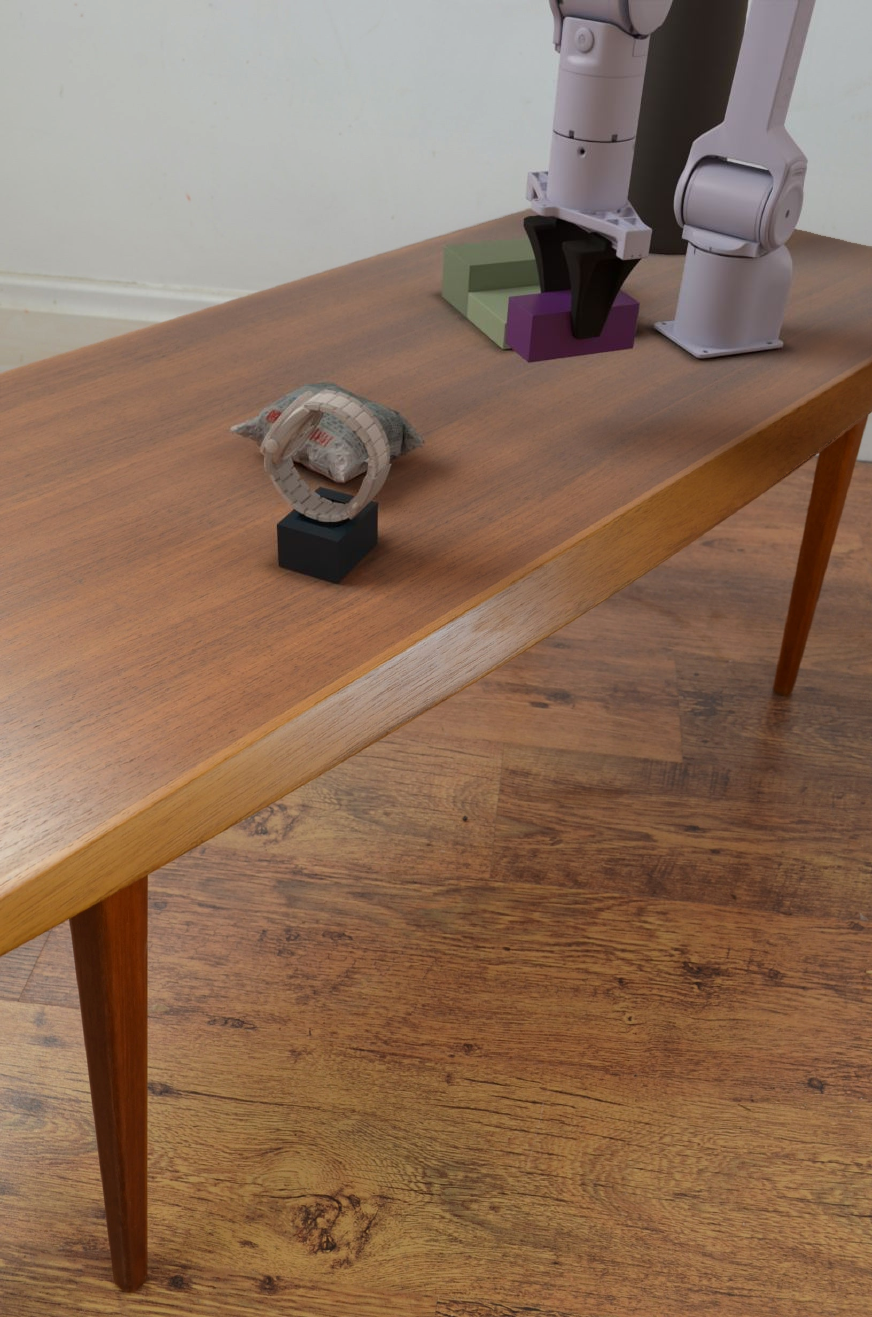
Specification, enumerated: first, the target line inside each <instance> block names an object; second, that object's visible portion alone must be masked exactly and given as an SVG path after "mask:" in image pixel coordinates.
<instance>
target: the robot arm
mask: <svg viewBox="0 0 872 1317" xmlns="http://www.w3.org/2000/svg"><path fill="white" fill-rule="evenodd" d="M672 1H673V0H548V4H549V7H550V11H551V14H552V18H553V36H552V44H554V51H555V52H556V53H557V54H559V59H558V60H559V61H558V70H557V80H556V81H557V82H556V92H555V102H554V112H553V120H552V132H551V143H550V153H549V162H548V170H543V171H542V170H541V171H528V172H527V178H526V188H525V199H526V200H527V201H529V202H530V210H531V211H532V212H534V213H535V214H536V215H528V216H525V217H524V218H523V223H522V224H523V228H524V231H525V233H526V235H527V238H529V240H530V243H531V246H532V249H533V252H534V256H535V260H536V264H537V269H538V275H539V282H540V290H541V293H546V292H555V291H564V290H571V329H572V335H573V337H574V338H575V339H578V340H579V339H586V338H594V337H599V336H600V334H601V332H602V330H603V327H604V325H605V322H606V320H607V317H608V315H609V312H610V310H611V307H612V305H613V303H614V301H615V298H616V296H617V294H618V292H619V290H621V289H622V287H623V285H624V283H625V282H626V280H627V279H628V277H629V276H630V274H631V273H632V271H633V270H634V268H636V266H637V265H638V264H639V262H640V261H641V260H642V259H647V258H648V257H649V254H650V252H649V247H650V240H651V234H652V229H651V228H649V227H648V226H646V225H645V224H644V223H643V222H642V221H641V219H640V218H639V216H638V215H637V213H636V212H635V210H634V208H633V207H632V205H631V204H630V202H629V201H628V199H627V197H628V190H629V183H630V176H631V169H632V161H633V154H634V147H635V140H636V133H637V125H638V118H639V111H640V104H641V97H642V89H643V82H644V75H645V69H646V62H647V55H648V47H649V40H650V33H652V32H653V31H655V30H656V29H657V28H658V27H659V26H661V25H662V24H663V22H664V20H665V18H666V16H667V14H668V12H669V9H670V7H671V4H672ZM816 1H817V0H751V2H750V6H749V11H748V13H747V17H746V24H745V31H744V36H743V40H742V45H741V49H740V53H739V58H738V62H737V67H736V71H735V75H734V80H733V84H732V88H731V93H730V97H729V102H728V106H727V110H726V115H725V119H724V121H723V122H722V123H721V124H720V125H718V126H716V127H714V128H713V129H711V130H709V131H708V132H706V133H704V134H703V135H701V136H700V137H699V138H697V139H696V140H695V141H694V142H693V145H692V148H691V151H690V154H689V158H688V161H687V164H686V166H685V169H684V171H683V173H682V175H681V177H680V179H679V181H678V184H677V188H676V192H675V197H674V212H675V216H676V220H677V223H678V224H679V226H680V227H682V228H684V229H683V235H682V238H683V239H686V240H688V241H689V242H688V247H687V253H685V259H684V265H683V271H682V276H681V282H680V286H679V287H680V288H679V292H678V297H677V298H678V299H677V305H676V309H675V316H674V319H673V320H667V321H665V320H664V321H657V322H655V323H654V325H653V328H654V329H655V330H656V331H658V332H659V333H661V334H662V335H664V336H665V337H666V338H668V339H669V340H670V341H672V342H673V343H675V344H677V345H678V346H679V347H681V348H682V349H683V350H685V351H687V352H688V353H689V354H691V355H693V357H695V358H697V359H708V358H716V357H723V356H730V355H739V354H747V353H753V352H760V351H767V350H773V349H774V350H775V349H781V348H783V346H784V341H783V340H781V339H780V334H781V330H782V325H783V321H784V318H785V312H786V308H787V305H788V300H789V295H790V292H791V287H792V283H793V278H794V277H793V276H794V274H793V273H794V266H793V260H792V256H791V252H790V251H789V249H788V248H787V246H786V245H785V244H786V242H787V241H789V239H790V238H791V236H792V234H793V233H794V231H795V229H796V227H797V224H798V222H799V219H800V218H801V217H800V216H801V214H802V209H803V204H804V197H805V196H804V195H805V194H804V186H805V180H806V174H807V170H808V166H807V165H808V162H809V161H808V158H807V156H806V155H805V153H804V152H803V150H802V149H801V147H799V145H798V144H797V143H796V141H795V140H794V139H793V137H792V136H791V135H790V133H789V132H788V131H787V129H786V127H785V124H786V119H787V115H788V112H789V107H790V104H791V99H792V96H793V91H794V89H795V83H796V80H797V76H798V72H799V68H800V64H801V60H802V56H803V52H804V48H805V44H806V40H807V36H808V33H809V28H810V24H811V21H812V17H813V13H814V9H815V6H816ZM721 157H725V158H727V159H729V160H727V161H726V160H722V159H720V158H721ZM730 160H735V161H739V162H742V163H739V162H735V161H730ZM743 163H746V164H743ZM747 163H748V164H752V165H747ZM753 165H757V166H760V167H763V168H760V167H756V166H753Z"/></svg>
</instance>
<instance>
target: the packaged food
mask: <svg viewBox="0 0 872 1317" xmlns="http://www.w3.org/2000/svg"><path fill="white" fill-rule="evenodd" d="M326 389H327V390H333V391H337V393H338V392H342V393H345V394H347V395H349V396H350V397H354V398H355V399H357V400H359V401H360V402H361V403H362V404H363V405H365V406H366V407H367V408H368V409H369V410H370V411H371V412H372V413H373V414H374V416H375V417H376V418H377V419H378V421H379V422H380V424H381V426H382V428H383V430H384V432H385V434H386V436H387V440H388V443H387V444H389V448H390V455H389V456H390V461H389V462H391V461H393V460H396V459H397V458H399V457H401V456H402V457H403V456H405V455H407V454H408V453H410V451H412V450H416V449H417V448H422V447H423V445H424V444H425V439H423V438H422V437H421V435H420V434H419V433H418V432H417V431H416V429H415V428H414V427H413V425H412V424H411V423H410V422H409V421H408V420H407V419H406V418H405V417H404V416H403V415H402V414H401V413H400V412H399V411H397V410H396V409H394V408H391V407H388V406H385V405H383V404H381V403H378V402H375V401H373V400H371V399H369V398H365V397H363V396H361V395H357V394H355V393H352V392H351V391H349V390H348V389H345V388H343V387H341V386H340V385H338V384H336V383H333V382H331V381H330V382H329V381H327V382H326V381H325V382H323V381H322V382H314V383H313V382H312V383H308V384H305V385H302V386H300V387H298V388H296V389H294V390H293V391H290V392H288V393H287V394H284V395H283V396H281V397H280V398H279V399H278V400H275V401H274V402H272V403H271V404H269V405H267V406H266V407H264V408H263V409H262V410H261V411H260V412H259V413H258V415H256V416H255V417H253V418H249V419H247V420H246V421H244V422H241V423H238V424H234V425H233V426H231V427H230V429H229V432H230V433H231V434H233V435H234V434H236V435H239V436H241V437H242V438H245V439H250V440H252V441H254V442H255V444H256V445H257V446H258V447H259V448H260V447H261V444H262V442H263V440H264V438H265V436H266V435H267V433H268V431H269V430H270V429H271V427H272V426H273V424H274V423H275V422H276V420H277V419H278V418H279V417H280V415H281V414H282V413H283V412H284V411H285V410H286V409H287V407H288V406H289V405H290V404H291V403H292V402H293V401H294V400H296V399H297V398H298V397H299V396H300V395H302V394H303V393H305V392H307V391H311V392H313V393H314V396H315V395H316V394H318V393H319V392H321V391H323V390H326ZM358 416H359V415H358ZM358 416H357V417H358ZM374 416H373V417H374ZM373 417H372V418H373ZM372 418H371V419H372ZM345 421H346V420H345ZM345 421H342V420H341V419H339V418H337V417H335V416H334V415H333V413H332V414H329V413H326V412H324V414H323V417H322V419H321V421H320V423H319V424H318V426H317V427H316V429H315V430H314V432H313V433H312V434H311V436H310V437H309V438H308V439H307V441H306V442H305V443H304V444H303V445H302V446H301V448H300V449H299V450H298V451H297V453H296V455H295V456H294V457H291V459H292V461H293V462H295V463H299V464H302V465H303V466H304V467H305V468H307V470H309V471H311V472H313V473H316V474H319V475H322V476H325V477H326V478H328V479H330V480H332V481H333V482H335V483H337V484H339V483H341V484H344V483H346V482H348V481H351V480H352V479H354V478H356V477H358V476H359V475H361V474H363V473H365V472H366V473H367V471H368V464H369V463H370V457H371V456H369V454H368V452H367V449H366V447H365V444H366V443H367V442H366V443H364V442H362V440H361V439H360V437H359V436H358V435H357V433H356V432H357V431H354V430H353V429H352V428H351V427H349V426H348V425H347V424H346V422H345ZM371 426H372V425H371ZM369 427H370V426H369ZM369 427H368V428H369ZM368 428H367V429H368ZM367 429H366V430H367ZM358 430H359V429H358ZM366 430H365V431H366Z"/></svg>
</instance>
